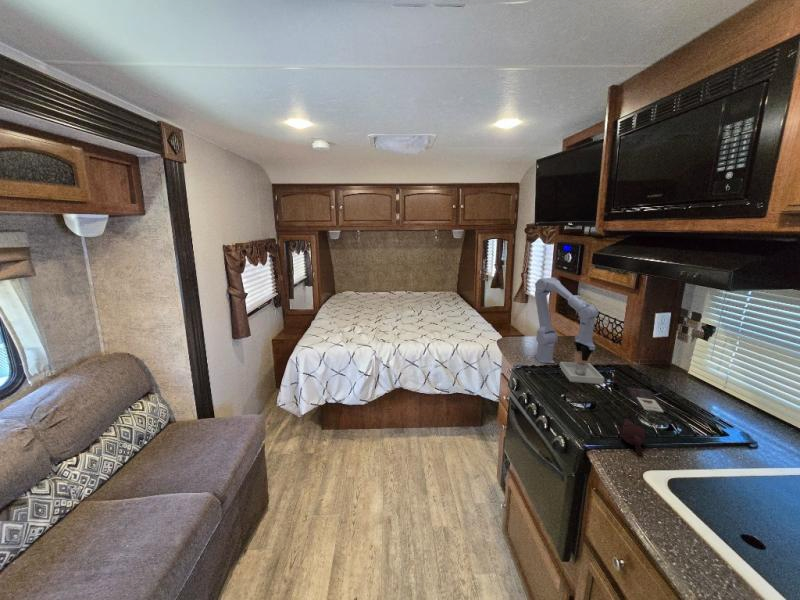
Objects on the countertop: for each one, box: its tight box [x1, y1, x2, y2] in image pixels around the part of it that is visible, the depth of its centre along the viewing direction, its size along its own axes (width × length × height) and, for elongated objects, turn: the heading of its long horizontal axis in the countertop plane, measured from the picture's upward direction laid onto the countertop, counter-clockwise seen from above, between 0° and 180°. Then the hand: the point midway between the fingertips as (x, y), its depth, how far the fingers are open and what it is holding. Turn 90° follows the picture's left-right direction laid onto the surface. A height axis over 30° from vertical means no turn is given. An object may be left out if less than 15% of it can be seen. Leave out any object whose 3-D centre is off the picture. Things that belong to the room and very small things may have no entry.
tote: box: [559, 361, 605, 385], centre depth 155 cm, size 16×14×3 cm
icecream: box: [618, 418, 646, 456], centre depth 107 cm, size 7×7×15 cm
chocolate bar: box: [625, 386, 669, 414], centre depth 133 cm, size 9×1×18 cm
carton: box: [573, 350, 592, 364], centre depth 153 cm, size 4×6×4 cm
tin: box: [575, 362, 587, 376], centre depth 154 cm, size 4×4×6 cm
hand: (582, 358), depth 153 cm, fingers closed on carton, 4 cm apart
